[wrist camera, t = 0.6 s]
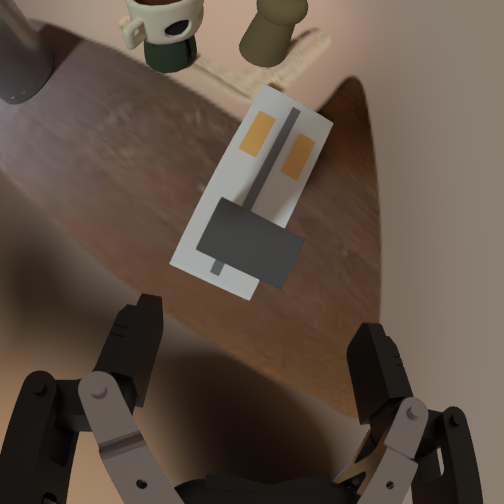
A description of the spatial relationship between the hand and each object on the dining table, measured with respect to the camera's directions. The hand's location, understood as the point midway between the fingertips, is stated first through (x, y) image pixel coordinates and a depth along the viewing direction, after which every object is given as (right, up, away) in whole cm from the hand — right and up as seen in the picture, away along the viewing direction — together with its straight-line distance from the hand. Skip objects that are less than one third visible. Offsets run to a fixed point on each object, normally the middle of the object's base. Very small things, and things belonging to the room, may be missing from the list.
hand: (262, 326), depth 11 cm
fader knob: (-2, +4, +18) cm, 19 cm away
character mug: (-10, +27, +17) cm, 33 cm away
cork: (+1, +28, +19) cm, 34 cm away
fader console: (0, +10, +20) cm, 22 cm away
